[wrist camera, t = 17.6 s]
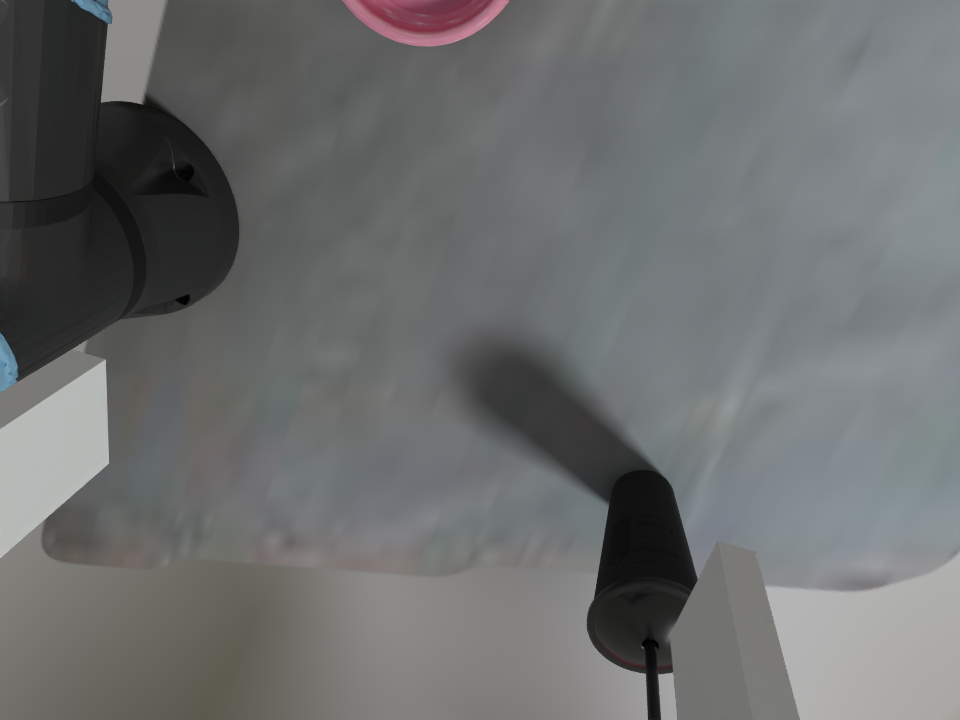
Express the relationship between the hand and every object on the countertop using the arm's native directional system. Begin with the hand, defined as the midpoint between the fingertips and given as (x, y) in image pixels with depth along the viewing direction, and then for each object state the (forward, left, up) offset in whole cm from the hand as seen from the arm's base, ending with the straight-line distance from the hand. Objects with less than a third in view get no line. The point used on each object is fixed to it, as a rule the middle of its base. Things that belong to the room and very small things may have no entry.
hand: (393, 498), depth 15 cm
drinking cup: (+14, -22, -35) cm, 44 cm away
